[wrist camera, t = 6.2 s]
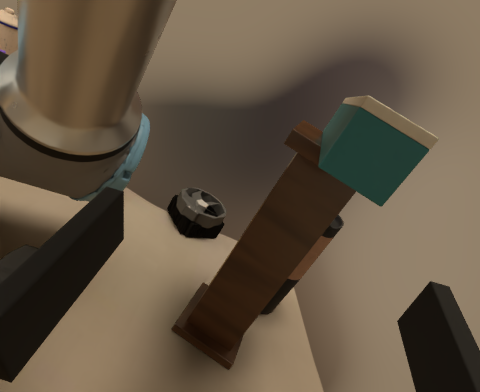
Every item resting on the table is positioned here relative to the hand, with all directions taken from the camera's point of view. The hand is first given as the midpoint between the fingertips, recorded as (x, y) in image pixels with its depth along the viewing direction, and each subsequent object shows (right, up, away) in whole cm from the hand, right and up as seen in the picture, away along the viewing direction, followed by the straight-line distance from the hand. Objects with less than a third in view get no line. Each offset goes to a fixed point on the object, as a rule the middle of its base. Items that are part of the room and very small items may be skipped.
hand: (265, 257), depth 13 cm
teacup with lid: (-68, +42, +72) cm, 108 cm away
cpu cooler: (-11, -3, +51) cm, 52 cm away
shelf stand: (-5, -16, +31) cm, 35 cm away
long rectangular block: (+8, +6, +15) cm, 18 cm away
